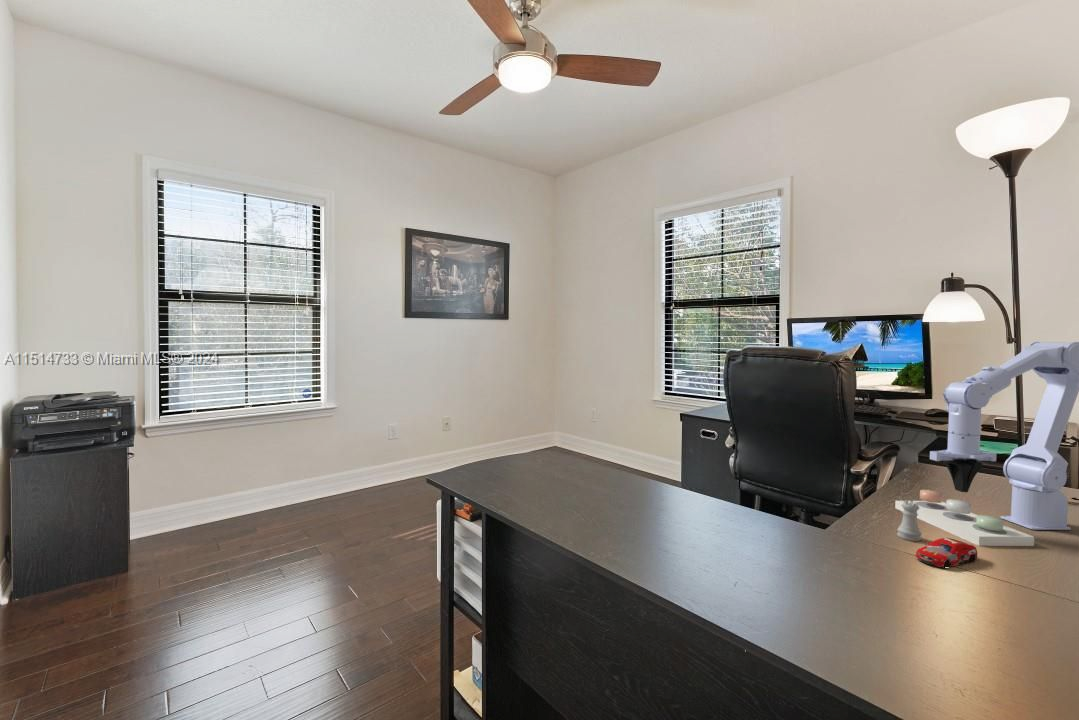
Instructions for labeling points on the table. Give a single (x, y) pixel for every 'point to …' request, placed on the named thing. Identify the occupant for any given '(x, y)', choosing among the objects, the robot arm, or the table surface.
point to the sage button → (989, 523)
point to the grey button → (958, 506)
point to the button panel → (967, 526)
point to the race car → (947, 553)
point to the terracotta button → (931, 496)
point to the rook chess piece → (909, 522)
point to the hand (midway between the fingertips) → (961, 491)
